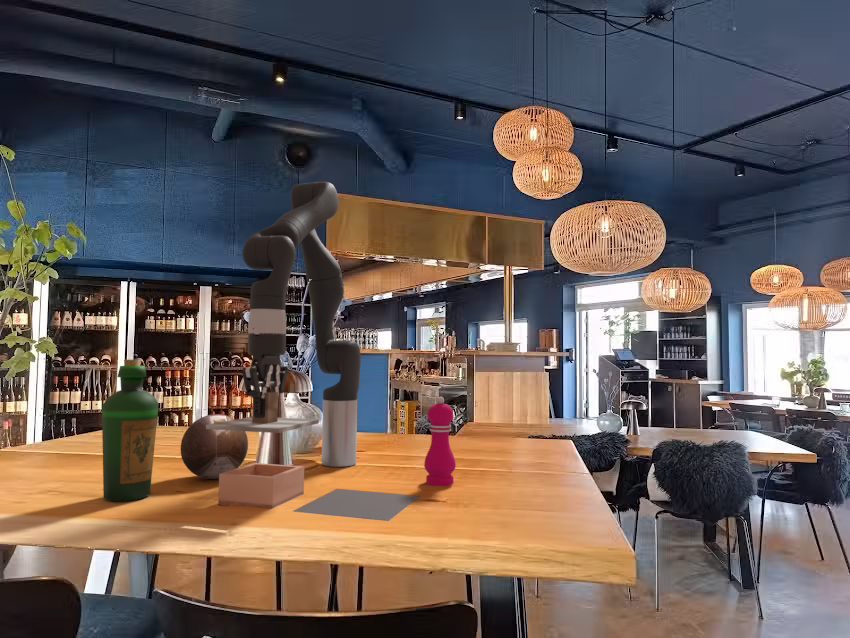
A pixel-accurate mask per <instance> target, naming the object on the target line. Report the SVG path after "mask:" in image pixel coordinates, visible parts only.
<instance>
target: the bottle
mask: <svg viewBox="0 0 850 638" xmlns="http://www.w3.org/2000/svg"><path fill="white" fill-rule="evenodd" d="M123 361H124V365H120V367H119V369H118V373H117V378H119V379H120V380H119V381H120V390H117V391H115V392H113V393H112V394H111V395H110V396H108V397H107V398H106V399H105V400H104V402H103V403H102V405H101V422H102V423H101V430H102V432H101V434H102V437H101V438H102V478H103V479H102V482H103V485H102V487H103V489H102V490H103V499H105V500H107V501H110V502H118V503H121V502H123V503H124V502H133V501H138V500H142V499H144V498H146V497H147V496H150V494H151V487H152V477H153V476H152V475H153V467H154V466H153V464H154V455H155V444H156V436H157V435H156V434H157V425H158V416H159V415H158V413H159V406H160V405H159V401H158V400H157V398H156V397H155V396H154V395H153V394H151V392H149V391H147V390H144V389H143V385H144V378H147V371H146V366H145V365H141V364H142V359H124V360H123Z"/></svg>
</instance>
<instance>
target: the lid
mask: <svg viewBox="0 0 850 638" xmlns="http://www.w3.org/2000/svg"><path fill="white" fill-rule="evenodd" d="M264 399H265V417H264V418H255V417H254V413H253V412H254V399H253V398H252V416H249V417H242V418H237V419H235V420H230V421H225V422H219V423H213V424H208V425H206V429H216V430H233V431H245V432H250V433H251V432H253V433H269V434H270V433H271V434H280V433H281V434H282V433H285V432H289V431H293V430H297V429H302V428H305V427H310V426H313V425H317V424H319V422H320V421H319V419H315V418H296V417H295V418H294V417H292V418H291V417H290V418H289V417H279V414H278V413H279V412H278V411H279V409H278V408H279V396H278V392H266V396H265V398H264Z"/></svg>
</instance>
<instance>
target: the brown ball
mask: <svg viewBox="0 0 850 638" xmlns="http://www.w3.org/2000/svg"><path fill="white" fill-rule="evenodd" d="M230 420H236V419H235V418H233V417H231V416H228V415H226V414H220V413H217V414H216V413H215V414H214V413H213V414H208V415H205V416H202V417H200V418H198V419H196V420H195V421H194V422H192V423H191V424H190V425H189V426H188V428H186V430H185V432H184V434H183V436H182V439H181V441H180V456H181V459H182V462H183V464H184V466H185V467H186V468H187V469H188V471H190V473H192V474H193V475H195V476H196V477H199V478H201V479H206V480H219V474H220V473H223V472H227V471H230V470H233V469H236V468H239V467H241V465H242V464H243V463H244V461H245V459H246V457H247V454H248V450H249V438H248V436H247V435H248V434H247V431H233V430H216V429H206V425H208V424H213V423H219V422H225V421H230Z"/></svg>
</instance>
